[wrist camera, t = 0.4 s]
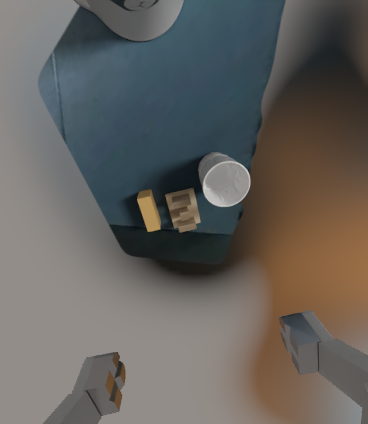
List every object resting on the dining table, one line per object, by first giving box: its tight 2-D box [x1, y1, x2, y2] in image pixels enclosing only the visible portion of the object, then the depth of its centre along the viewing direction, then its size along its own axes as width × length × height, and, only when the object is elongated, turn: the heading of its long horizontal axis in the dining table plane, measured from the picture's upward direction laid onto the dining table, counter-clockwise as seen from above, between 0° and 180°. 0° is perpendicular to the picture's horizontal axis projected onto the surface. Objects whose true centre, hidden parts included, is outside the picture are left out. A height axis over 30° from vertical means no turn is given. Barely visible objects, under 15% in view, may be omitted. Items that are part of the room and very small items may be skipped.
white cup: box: [198, 152, 250, 207], centre depth 41 cm, size 8×8×10 cm
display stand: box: [165, 188, 200, 232], centre depth 47 cm, size 8×6×4 cm
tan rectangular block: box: [137, 189, 161, 232], centre depth 46 cm, size 8×3×4 cm, turn 12°
